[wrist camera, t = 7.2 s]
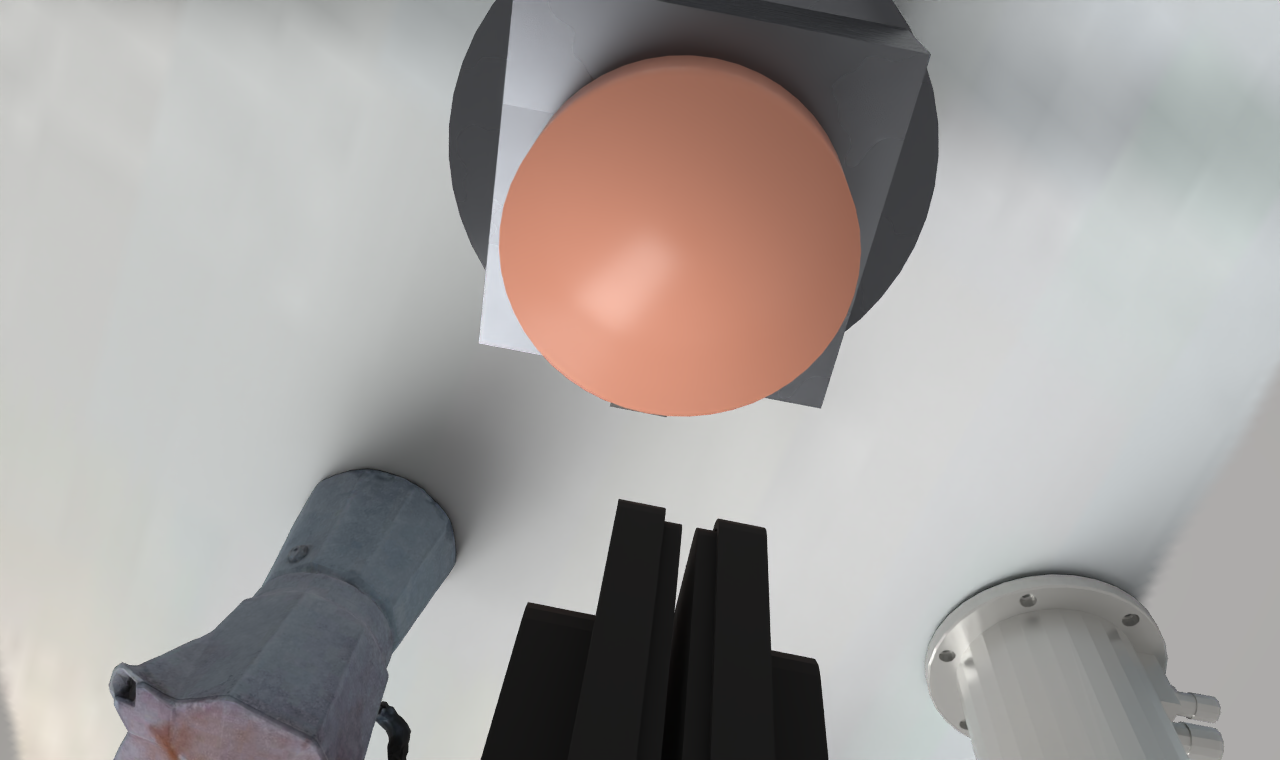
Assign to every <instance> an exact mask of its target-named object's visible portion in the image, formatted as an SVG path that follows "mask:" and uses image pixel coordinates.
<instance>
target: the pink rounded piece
mask: <svg viewBox="0 0 1280 760" xmlns="http://www.w3.org/2000/svg"><path fill="white" fill-rule="evenodd" d="M499 256H500V265H501V273H502V277H503V281H504V286H505V290H506V293H507V296H508V299H509V301H510V304H511V306H512V309H513V311H514V314H515V316H516V317H517V319H518V321H519V323H520V325H521V327H522V328H523V330H524V332H525V333H526V335H527V336H528V337H529V339H530V340H531V342H532V343H533V344H534V346H535V347H536V349H537V350H538V351H539V352H540V353H541V354H542V355H543V356H544V357H545V358H546V359H547V361H548V362H549V363H550V364H551V365H552V366H553V367H555V368H556V369H557V370H558V371H559V372H561V373H562V374H563V375H564V376H565V377H566V378H568V379H569V380H571V381H572V382H574V383H575V384H577V385H578V386H580V387H581V388H583V389H584V390H586V391H588V392H590V393H592V394H593V395H595V396H597V397H599V398H601V399H603V400H605V401H608V402H611V403H613V404H616V405H619V406H622V407H624V408H628V409H632V410H636V411H640V412H644V413H649V414H657V415H664V416H698V415H709V414H715V413H720V412H724V411H729V410H733V409H736V408H739V407H742V406H745V405H748V404H751V403H754V402H756V401H758V400H760V399H762V398H765V397H767V396H769V395H771V394H773V393H774V392H776V391H778V390H779V389H781V388H782V387H784V386H786V385H787V384H789V383H790V382H792V381H793V380H794V379H795V378H797V377H798V376H799V375H800V374H802V373H803V372H804V371H805V370H807V369H808V368H809V367H810V366H811V365H812V364H813V362H814V361H815V360H816V359H817V358H818V357H819V356H820V355H821V354H822V353H823V352H824V350H825V349H826V348H827V346H828V345H829V344H830V342H831V341H832V340H833V338H834V337H835V335H836V334H837V332H838V330H839V328H840V326H841V325H842V323H843V321H844V319H845V317H846V315H847V313H848V310H849V307H850V305H851V302H852V300H853V297H854V293H855V289H856V285H857V281H858V276H859V268H860V257H861V243H860V228H859V223H858V218H857V213H856V208H855V204H854V201H853V198H852V195H851V193H850V190H849V187H848V184H847V181H846V178H845V175H844V172H843V169H842V166H841V163H840V161H839V158H838V155H837V153H836V151H835V149H834V147H833V145H832V143H831V141H830V139H829V137H828V135H827V134H826V132H825V131H824V129H823V128H822V127H821V125H820V124H819V122H818V121H817V120H816V118H815V117H814V116H813V114H812V113H811V112H810V111H809V110H808V109H807V108H806V107H805V106H804V105H803V104H802V103H801V102H800V101H799V100H798V99H797V98H796V97H794V96H793V95H792V94H791V93H789V92H788V91H787V90H786V89H784V88H783V87H782V86H781V85H779V84H777V83H776V82H774V81H772V80H771V79H769V78H767V77H766V76H764V75H762V74H760V73H758V72H756V71H753V70H751V69H749V68H746V67H744V66H741V65H739V64H736V63H732V62H728V61H724V60H721V59H717V58H710V57H702V56H694V55H679V56H663V57H656V58H650V59H644V60H641V61H637V62H634V63H631V64H627V65H624V66H621V67H619V68H617V69H615V70H612V71H610V72H608V73H606V74H603V75H602V76H600V77H598V78H597V79H595V80H594V81H592V82H590V83H589V84H587V85H586V86H584V87H583V88H581V89H580V90H579V91H578V92H577V93H575V94H574V95H573V96H572V97H571V98H569V99H568V100H567V101H566V102H565V103H564V104H563V105H562V106H561V107H560V109H559V110H558V111H557V112H556V113H555V114H554V115H553V116H552V117H551V119H550V120H549V122H548V123H547V125H546V126H545V128H544V129H543V130H542V132H541V133H540V135H539V136H538V138H537V139H536V141H535V143H534V144H533V146H532V147H531V149H530V150H529V152H528V153H527V155H526V156H525V158H524V160H523V161H522V163H521V164H520V166H519V168H518V170H517V172H516V174H515V177H514V179H513V181H512V183H511V185H510V188H509V191H508V194H507V197H506V200H505V203H504V206H503V212H502V218H501V223H500V233H499Z"/></svg>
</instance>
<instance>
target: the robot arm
mask: <svg viewBox="0 0 1280 760" xmlns="http://www.w3.org/2000/svg"><path fill="white" fill-rule="evenodd" d="M665 512H666V509H665V508H662V507H657V506H652V505H647V504H642V503H637V502H632V501H627V500H622V499H619V501H618V506H617V511H616V516H615V521H614V526H613V531H612V536H611V541H610V546H609V551H608V556H607V561H606V566H605V571H604V576H603V581H602V586H601V591H600V596H599V601H598V606H597V611H596V616H595V615H590V614H585V613H580V612H575V611H570V610H565V609H560V608H555V607H550V606H545V605H540V604H535V603H530V602H528V603H527V605H526V608H525V611H524V614H523V617H522V621H521V624H520V627H519V631H518V634H517V638H516V641H515V644H514V648H513V651H512V655H511V658H510V662H509V665H508V668H507V672H506V675H505V679H504V682H503V686H502V689H501V692H500V696H499V699H498V703H497V706H496V709H495V713H494V716H493V720H492V723H491V727H490V730H489V733H488V737H487V740H486V744H485V747H484V750H483V754H482V757H481V760H828V750H827V740H826V729H825V719H824V708H823V698H822V688H821V677H820V671H819V666H818V663H817V662H816V660H815V659H813V658H808V657H803V656H798V655H792V654H787V653H782V652H777V651H772V650H771V636H770V609H769V581H768V553H767V533H766V529H765V528H763V527H758V526H753V525H748V524H743V523H738V522H733V521H728V520H723V519H717V520H716V523H715V525H714V529H713V531H711V530H706V529H701V528H696V530H695V533H694V537H693V541H692V545H691V549H690V553H689V557H688V561H687V565H686V569H685V573H684V577H683V581H682V585H681V589H680V593H679V597H678V601H677V605H676V609H675V600H676V589H677V578H678V567H679V556H680V545H681V534H682V525H681V524H676V523H671V522H666V521H665ZM674 611H675V613H674ZM1166 666H1167V652H1166V646H1165V642H1164V639H1163V637H1162V635H1161V633H1160V631H1159V628H1158V626H1157V624H1156V623H1155V621H1154V620H1153V618H1152V617H1151V615H1150V614H1149V612H1148V610H1147V609H1146V608H1145V607H1144V606H1143V605H1142V604H1141V603H1139V602H1138V601H1137V600H1136V599H1135V598H1134V597H1133V596H1131V595H1129V594H1128V593H1126V592H1124V591H1123V590H1121V589H1119V588H1118V587H1116V586H1113V585H1110V584H1107V583H1105V582H1102V581H1099V580H1096V579H1091V578H1086V577H1081V576H1075V575H1053V574H1050V575H1040V576H1031V577H1024V578H1020V579H1016V580H1012V581H1008V582H1004V583H1002V584H999V585H997V586H994V587H992V588H989V589H987V590H984V591H982V592H980V593H979V594H977V595H975V596H974V597H972V598H970V599H969V600H967V601H965V602H964V603H962V604H961V605H960V606H959V607H958V608H956V609H955V610H954V611H953V612H952V613H951V614H949V615H948V616H947V618H946V619H945V620H944V621H943V622H942V624H941V625H940V626H939V627H938V629H937V630H936V632H935V634H934V636H933V638H932V639H931V641H930V643H929V645H928V649H927V654H926V658H925V678H926V681H927V685H928V690H929V695H930V697H931V699H932V701H933V703H934V706H935V708H936V709H937V711H938V712H939V713H940V714H941V716H942V717H943V718H944V719H945V721H946V722H947V723H949V724H950V725H951V726H952V727H953V728H954V729H956V730H957V731H958V732H960V733H962V734H964V735H966V736H967V737H969V738H971V742H972V746H973V750H974V753H975V757H976V760H1221V758H1222V755H1223V752H1224V743H1223V739H1222V736H1221V733H1220V732H1219V731H1218V730H1217V729H1216V728H1211V727H1206V726H1201V725H1195V724H1190V723H1185V722H1179V723H1175V722H1173V720H1174V718H1175V717H1176V715H1178V716H1184V717H1186V718H1188V719H1193V720H1198V721H1204V722H1209V723H1215V722H1216V721H1218V719H1219V716H1220V705H1219V701H1218V700H1217V699H1216V698H1215V697H1212V696H1206V695H1201V694H1196V693H1183V692H1178V691H1177V690H1176V689H1175V687H1174V686H1172V685H1170V683H1169V681H1168V679H1167V677H1166V675H1165V674H1166Z"/></svg>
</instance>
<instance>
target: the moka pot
mask: <svg viewBox="0 0 1280 760" xmlns="http://www.w3.org/2000/svg"><path fill="white" fill-rule="evenodd" d="M455 563H456V546H455V540H454V534H453V529H452V526H451V522H450V520H449V518H448V516H447V515H446V513H445V512H444V511H443V509H442V508H441V507H440V506H439V505H438V504H437V503H436V502H435V501H434V500H433V499H432V498H431V497H430V496H429V495H428V494H427V493H426V492H425V490H424V489H422V488H420V487H418V486H417V485H415V484H413V483H411V482H409V481H408V480H406V479H404V478H402V477H398V476H395V475H392V474H389V473H387V472H381V471H379V470H371V469H362V470H354V471H348V472H344V473H341V474H337V475H335V476H333V477H330V478H328V479H325V480H323V481H321V482H320V483H318V484H317V486H316V487H315V489H314V490H313V492H312V493H311V495H310V497H309V498H308V500H307V502H306V503H305V505H304V507H303V509H302V511H301V512H300V514H299V516H298V517H297V519H296V521H295V523H294V525H293V526H292V528H291V530H290V532H289V534H288V537H287V539H286V541H285V543H284V545H283V547H282V549H281V550H280V553H279V555H278V557H277V559H276V561H275V563H274V564H273V566H272V568H271V570H270V572H269V574H268V576H267V578H266V579H265V581H264V583H263V585H262V587H261V588H260V589H259V590H258V591H257V592H256V594H255V595H254V596H253V597H252V598H249V599H245V600H243V601H242V602H241V603H240V605H239V606H238V607H237V608H236V609H235V610H234V611H233V612H232V613H231V614H229V615H228V616H227V617H226V618H225V619H224V620H223V621H222V622H221V623H220V624H219V625H218V626H217V627H216V628H215V629H214V630H213V631H212V632H210V633H208V634H207V635H205V636H203V637H201V638H198V639H195V640H192V641H190V642H188V643H186V644H184V645H181V646H179V647H177V648H175V649H173V650H171V651H169V652H167V653H165V654H163V655H161V656H158V657H156V658H153V659H151V660H149V661H146V662H144V663H142V664H140V665H128V664H125V663H123V662H122V663H121V664H119V665H118V666H116V667H115V668H114V670H113V673H112V676H111V679H110V683H109V689H110V693H111V695H112V696H113V698H114V706H115V708H116V710H117V712H118V714H119V716H120V718H121V720H122V721H123V723H124V725H125V727H126V729H127V730H128V732H127V734H126V736H125V738H124V740H123V741H122V743H121V745H120V747H119V749H118V751H117V753H116V755H115V758H114V760H364V758H365V755H366V752H367V748H368V744H369V741H370V737H371V733H372V730H373V727H374V724H375V721H376V722H377V723H378V724H379V725H380V726H381V727H383V728H384V729H385V730H386V732H387V734H388V737H389V743H388V746H387V749H388V760H406V756H407V753H408V743H409V740H410V733H411V730H410V728H409V726H408V724H407V723H406V722H405V720H404V719H403V718H402V717H401V716H399V715H398V714H397V712H396V711H395V709H394V708H393V707H391V706H389V705H388V703H387V702H384V701H382V697H383V694H384V691H385V687H386V684H387V681H388V672H387V669H386V668H387V666H388V664H389V662H390V659H391V655H392V653H393V652H394V651H395V649H396V648H397V647H398V645H399V644H400V643H401V641H402V640H403V638H404V637H405V635H406V634H407V633H408V631H409V630H410V628H411V627H412V625H413V624H414V622H415V621H416V619H417V618H418V617H419V615H420V614H421V612H422V611H423V610H424V608H425V607H426V605H427V604H428V602H429V601H430V599H431V598H432V597H433V595H434V594H435V592H436V591H437V590H438V588H439V587H440V586H441V584H442V583H443V581H444V580H445V579H446V577H447V576H448V574H449V573H450V571H451V570H452V568H453V567H454V565H455ZM381 701H382V702H381Z"/></svg>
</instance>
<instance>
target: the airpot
mask: <svg viewBox="0 0 1280 760" xmlns="http://www.w3.org/2000/svg"><path fill="white" fill-rule="evenodd" d="M679 55H694V56H702V57H710V58H717V59H721V60H724V61H728V62H732V63H736V64H739V65H741V66H744V67H746V68H749V69H751V70H753V71H756V72H758V73H760V74H762V75H764V76H766V77H767V78H769V79H771V80H772V81H774V82H776V83H777V84H779V85H781V86H782V87H783V88H784V89H786V90H787V91H788V92H789V93H791V94H792V95H793V96H794V97H796V98H797V99H798V100H799V101H800V102H801V103H802V104H803V105H804V106H805V107H806V108H807V109H808V110H809V111H810V112H811V113H812V114H813V116H814V117H815V118H816V120H817V121H818V122H819V124H820V125H821V127H822V128H823V129H824V131H825V132H826V134H827V135H828V137H829V139H830V141H831V143H832V145H833V147H834V149H835V151H836V153H837V155H838V158H839V161H840V163H841V166H842V169H843V172H844V175H845V178H846V181H847V184H848V187H849V190H850V193H851V195H852V198H853V201H854V204H855V208H856V213H857V218H858V223H859V228H860V243H861V257H860V268H859V276H858V281H857V285H856V289H855V293H854V297H853V300H852V302H851V305H850V307H849V310H848V313H847V315H846V317H845V319H844V321H843V323H842V325H841V326H840V328H839V330H838V332H837V334H836V335H835V337H834V338H833V340H832V341H831V342H830V344H829V345H828V346H827V348H826V349H825V350H824V352H823V353H822V354H821V355H820V356H819V357H818V358H817V359H816V360H815V361H814V362H813V364H812V365H811V366H810V367H809V368H808V369H807V370H805V371H804V372H803V373H802V374H800V375H799V376H798V377H797V378H795V379H794V380H793V381H792V382H790V383H789V384H787V385H786V386H784V387H782V388H781V389H779V390H778V391H776V392H774V393H773V394H771V395H769V396H767V397H765V398H769V399H774V400H779V401H784V402H790V403H795V404H800V405H805V406H811V407H816V408H821V406H822V403H823V400H824V397H825V394H826V390H827V387H828V384H829V381H830V377H831V374H832V371H833V368H834V365H835V361H836V358H837V355H838V352H839V348H840V345H841V342H842V339H843V336H844V332H845V331H846V330H848V329H849V328H850V327H851V326H852V325H854V324H855V323H856V322H857V321H859V320H860V319H861V318H862V317H863V316H864V315H865V314H866V313H867V312H868V311H869V310H870V309H871V308H872V307H873V305H874V304H875V303H876V302H877V301H878V300H879V299H880V298H881V297H882V296H883V294H884V293H885V292H886V290H887V289H888V288H889V286H890V285H891V284H892V282H893V281H894V280H895V278H896V277H897V276H898V274H899V273H900V271H901V270H902V268H903V266H904V264H905V263H906V261H907V259H908V257H909V256H910V254H911V252H912V250H913V249H914V247H915V244H916V242H917V240H918V237H919V235H920V232H921V230H922V227H923V225H924V222H925V220H926V218H927V214H928V210H929V206H930V202H931V199H932V195H933V191H934V187H935V179H936V171H937V163H938V119H937V112H936V106H935V99H934V92H933V88H932V84H931V81H930V78H929V74H928V71H927V65H928V62H929V58H930V55H931V54H930V53H929V52H928V51H927V50H926V48H925V47H924V46H923V45H922V44H921V43H920V42H919V41H918V40H917V39H916V38H915V37H914V36H913V34H912V32H911V30H910V27H909V26H908V24H907V23H906V21H905V20H904V18H903V16H902V15H901V13H900V12H899V10H898V9H897V7H896V6H895V4H894V3H893V1H892V0H496V1H495V2H494V4H493V5H492V7H491V8H490V10H489V11H488V13H487V15H486V16H485V18H484V20H483V21H482V23H481V25H480V26H479V28H478V29H477V31H476V33H475V35H474V37H473V40H472V42H471V44H470V47H469V49H468V51H467V53H466V56H465V58H464V60H463V63H462V66H461V70H460V73H459V77H458V80H457V84H456V87H455V91H454V95H453V102H452V109H451V116H450V123H449V161H450V169H451V177H452V185H453V190H454V194H455V198H456V202H457V206H458V210H459V214H460V217H461V220H462V222H463V225H464V227H465V230H466V232H467V235H468V237H469V240H470V242H471V245H472V247H473V248H474V250H475V252H476V254H477V256H478V257H479V259H480V261H481V263H482V265H483V267H484V268H485V270H486V276H485V286H484V296H483V306H482V316H481V326H480V336H479V343H480V344H485V345H490V346H495V347H501V348H506V349H511V350H516V351H522V352H527V353H532V354H537V355H542V354H541V353H540V352H539V351H538V350H537V349H536V347H535V346H534V344H533V343H532V342H531V340H530V339H529V337H528V336H527V335H526V333H525V332H524V330H523V328H522V327H521V325H520V323H519V321H518V319H517V317H516V316H515V314H514V311H513V309H512V306H511V304H510V301H509V299H508V296H507V293H506V290H505V286H504V281H503V277H502V273H501V265H500V256H499V233H500V223H501V218H502V212H503V206H504V203H505V200H506V197H507V194H508V191H509V188H510V185H511V183H512V181H513V179H514V177H515V174H516V172H517V170H518V168H519V166H520V164H521V163H522V161H523V160H524V158H525V156H526V155H527V153H528V152H529V150H530V149H531V147H532V146H533V144H534V143H535V141H536V139H537V138H538V136H539V135H540V133H541V132H542V130H543V129H544V128H545V126H546V125H547V123H548V122H549V120H550V119H551V117H552V116H553V115H554V114H555V113H556V112H557V111H558V110H559V109H560V107H561V106H562V105H563V104H564V103H565V102H566V101H567V100H568V99H569V98H571V97H572V96H573V95H574V94H575V93H577V92H578V91H579V90H580V89H581V88H583V87H584V86H586V85H587V84H589V83H590V82H592V81H594V80H595V79H597V78H598V77H600V76H602V75H603V74H606V73H608V72H610V71H612V70H615V69H617V68H619V67H621V66H624V65H627V64H631V63H634V62H637V61H641V60H644V59H650V58H656V57H663V56H679ZM610 406H611V407H616V408H622V409H627V410H632V409H628V408H624V407H622V406H619V405H616V404H613V403H611V404H610ZM632 411H636V410H632ZM638 412H640V411H638ZM643 413H644V412H643ZM648 414H649V413H648ZM653 415H657V414H653ZM659 416H664V415H659ZM664 417H667V416H664Z"/></svg>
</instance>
